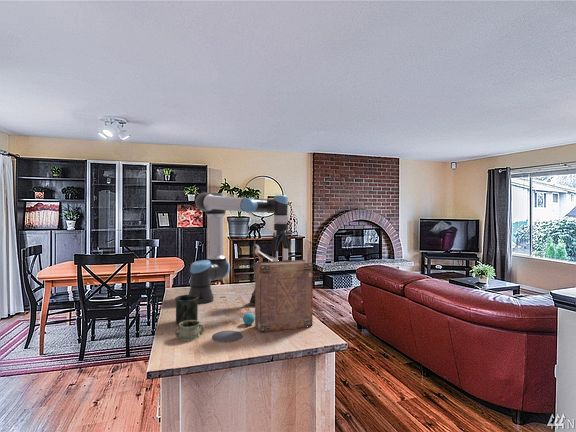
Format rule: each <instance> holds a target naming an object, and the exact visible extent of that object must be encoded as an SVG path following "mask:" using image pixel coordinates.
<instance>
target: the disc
mask: <svg viewBox="0 0 576 432" xmlns="http://www.w3.org/2000/svg"><path fill="white" fill-rule="evenodd" d="M243 337H244V335H243V332H241V331H239V330H222V331H217V332H216V333H213V334H212V336H211V338H212V340H213V341H216V342H220V343H232V342H236V341H239V340H242V338H243Z"/></svg>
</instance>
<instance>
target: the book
mask: <svg viewBox="0 0 576 432" xmlns="http://www.w3.org/2000/svg"><path fill="white" fill-rule="evenodd" d="M254 265H255V266H254V267H255V269H254V271H255V272H254V277H255V278H254V279H255V280H254V285H255V286H254V289H255V307H254V317H255V320H254V327H255V328H256V329H257V330H258V331H259V333H260V334H261V333H272V332H279V331H285V330H286V331H288V329H289V330H295V329H294V328H297V329H302V328H301V327H305V328H308V327H307V326H312V327H313V318H314V317H313V316H314V315H313V297H314V296H313V293H314V291H313V288H314V286H313V279H314V278H313V277H314V275H313V274H314V271H313V269H314V266H313V265H314V264H313V263H312V262H306V260H305V259H299V260H298V259H297V260H278V261H274V262H271V261H262V262H258V261H256V262H255V263H254Z"/></svg>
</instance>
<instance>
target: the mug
mask: <svg viewBox="0 0 576 432" xmlns="http://www.w3.org/2000/svg"><path fill="white" fill-rule="evenodd" d="M198 298H199V297H198V296H197V295H188V294H182V295H178V296H176V297H175V298H174V300H175V323H176V325H177V326H178V325H179V323H181V322H183V321H187V320H197V321H199V320H198V317H199V316H198V315H199V313H198V308H199V307H198V306H199V304H198Z"/></svg>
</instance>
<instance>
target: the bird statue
mask: <svg viewBox="0 0 576 432" xmlns="http://www.w3.org/2000/svg"><path fill="white" fill-rule="evenodd" d="M254 246H255V247H256V248H254V255H255V256H256V257H258V261H257V262H264V258H265V259H267V260H269V261H270V262H273V256H272V257H271V256H270V255H269V254H266V253H263V252H262V251H261V247H260V246H259V244H257V243H256V244H255V245H254ZM249 306H251V307H254V306H255V288H254V290H253V291H252V293H251V297H250V300H249Z"/></svg>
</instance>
